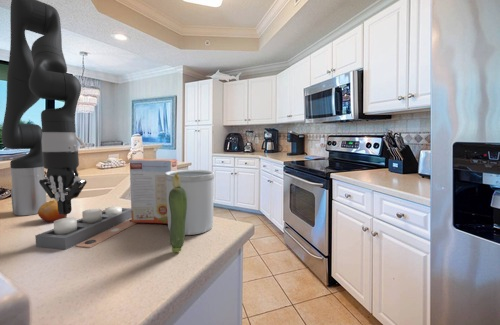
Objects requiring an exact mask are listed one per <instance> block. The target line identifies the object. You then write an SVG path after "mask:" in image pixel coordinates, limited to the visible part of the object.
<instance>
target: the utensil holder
mask: <svg viewBox="0 0 500 325" xmlns="http://www.w3.org/2000/svg"><path fill="white" fill-rule="evenodd" d="M177 172H178V174H179V175H178V176H179V178H180V182H181V186H180V187H182V188H183V189H184V190H185V191H186V194H187V213H186V223H185V236H191V235H192V236H193V235H200V234H203V233H207V232H209V231H210V230H211V229H212V228H213V224H214V192H215V189H214V187H215V183H214V181H215V180H214V179H215V177H216V176H215V175H216V174H215V172H214V171H213V170H209V169H177V171H170V172H166V173H165V177H166V187H167V217H168V224H167V228H168V231H169V232H170V229H171V212H170V206H169V193H170V191H171V190H172V189H173V188H174V187H173V185H172V180H173V177H174V176H175V173H177Z"/></svg>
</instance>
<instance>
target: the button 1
mask: <svg viewBox="0 0 500 325" xmlns="http://www.w3.org/2000/svg"><path fill="white" fill-rule="evenodd" d="M77 220H78V218H76V217H67V218H63V219H59V220H56V221H54V222H53V229H54V234H55V235H65V234H70V233H73V232H75V231H77Z"/></svg>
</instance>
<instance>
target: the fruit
mask: <svg viewBox="0 0 500 325" xmlns="http://www.w3.org/2000/svg"><path fill="white" fill-rule="evenodd" d="M37 215H38V217H39V218H40V219H41V220H42V221H44V222H49V223H50V222H51V223H52V222H53V223H54V221H56V220H59V219H63V218H68V217H67V216H68V214H66V215H60V214H59V212H58V204H57V201H56V200H55V199H52V200H49V201H47V202H46V203H44V204H43V205H42V206H41V207H40V208H39V210H38V214H37Z"/></svg>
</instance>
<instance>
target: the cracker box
mask: <svg viewBox="0 0 500 325" xmlns="http://www.w3.org/2000/svg"><path fill="white" fill-rule="evenodd" d="M177 170H178V159H177V158H176V159H175V158H173V159H171V158H170V159H167V158H165V159H164V158H134V159H130V160H129V175H130V176H129V177H130V178H129V181H130V182H129V183H130V208H131V216H132V222H138V223H139V224H140V223H144V224H146V223H147V224H165V225H168V217H167V187H166V177H165V173H166V172H170V171H177Z"/></svg>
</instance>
